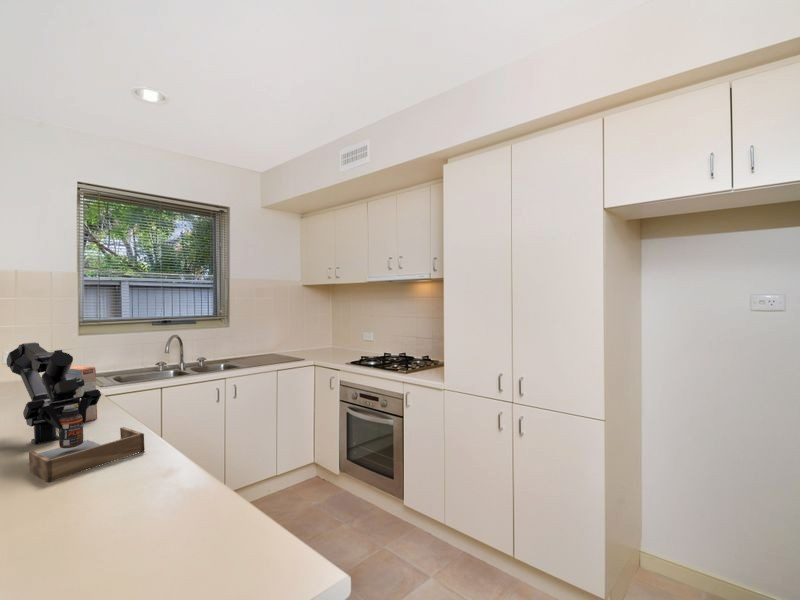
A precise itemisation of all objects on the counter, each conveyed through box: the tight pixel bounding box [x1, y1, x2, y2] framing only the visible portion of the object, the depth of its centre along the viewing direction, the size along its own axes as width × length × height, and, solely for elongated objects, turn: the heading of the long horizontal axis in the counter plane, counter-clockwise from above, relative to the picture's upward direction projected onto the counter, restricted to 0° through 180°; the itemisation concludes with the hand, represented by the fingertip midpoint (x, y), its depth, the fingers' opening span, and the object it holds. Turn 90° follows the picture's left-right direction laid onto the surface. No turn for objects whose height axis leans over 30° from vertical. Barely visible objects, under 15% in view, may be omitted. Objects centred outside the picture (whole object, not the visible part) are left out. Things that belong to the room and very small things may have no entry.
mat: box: [37, 439, 101, 459], centre depth 129 cm, size 14×14×1 cm
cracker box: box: [64, 365, 98, 423], centre depth 164 cm, size 14×6×21 cm, turn 65°
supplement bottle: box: [58, 408, 84, 448], centre depth 128 cm, size 6×6×11 cm
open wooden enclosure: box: [28, 426, 145, 483], centre depth 122 cm, size 13×24×6 cm, turn 148°
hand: (72, 425), depth 128 cm, fingers closed on supplement bottle, 6 cm apart
